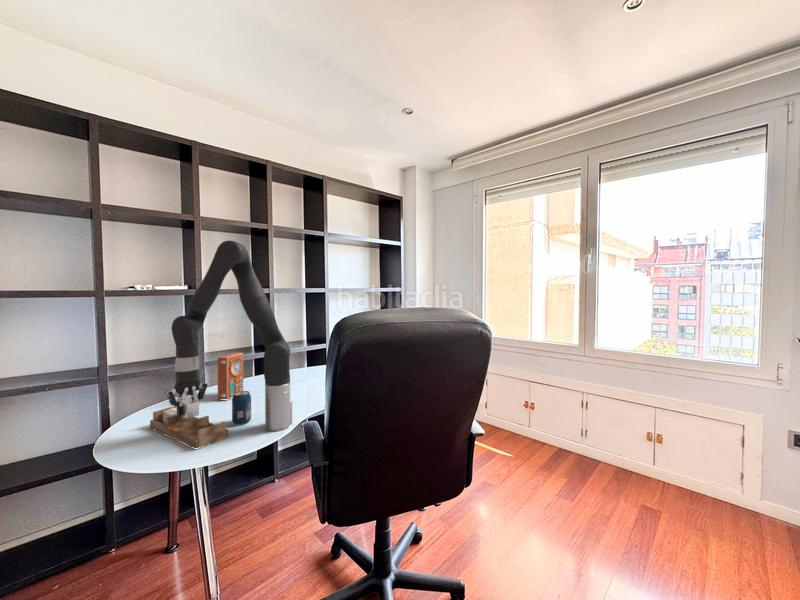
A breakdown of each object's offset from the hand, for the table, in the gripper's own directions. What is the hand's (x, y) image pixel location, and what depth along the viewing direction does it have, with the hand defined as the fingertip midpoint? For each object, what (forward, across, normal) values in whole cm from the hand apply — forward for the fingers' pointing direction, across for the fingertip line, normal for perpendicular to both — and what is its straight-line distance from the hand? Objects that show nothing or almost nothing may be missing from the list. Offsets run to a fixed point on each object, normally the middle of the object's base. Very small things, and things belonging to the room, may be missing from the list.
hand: (187, 413), depth 121 cm
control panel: (+7, -34, -28) cm, 44 cm away
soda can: (+7, -16, +8) cm, 20 cm away
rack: (+7, 0, 0) cm, 7 cm away
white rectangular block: (0, 0, 0) cm, 0 cm away
